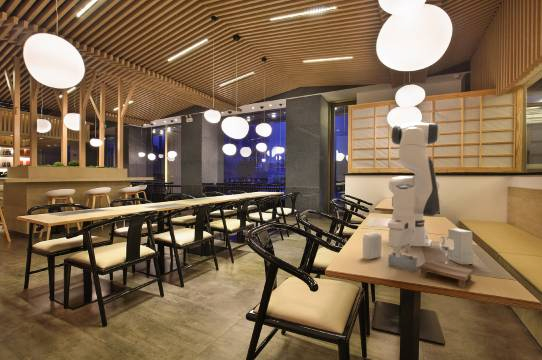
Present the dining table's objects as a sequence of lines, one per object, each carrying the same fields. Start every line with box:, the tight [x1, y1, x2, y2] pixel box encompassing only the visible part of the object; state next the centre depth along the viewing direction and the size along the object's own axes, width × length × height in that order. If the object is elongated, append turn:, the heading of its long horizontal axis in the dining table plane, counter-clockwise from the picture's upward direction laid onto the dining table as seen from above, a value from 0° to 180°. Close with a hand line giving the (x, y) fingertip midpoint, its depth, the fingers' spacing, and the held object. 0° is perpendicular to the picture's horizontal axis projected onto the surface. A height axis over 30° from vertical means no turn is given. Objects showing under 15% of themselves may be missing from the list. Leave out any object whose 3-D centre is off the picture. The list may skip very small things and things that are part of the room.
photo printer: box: [362, 231, 382, 260], centre depth 128 cm, size 10×4×12 cm, turn 123°
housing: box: [387, 251, 418, 273], centre depth 115 cm, size 4×10×6 cm, turn 44°
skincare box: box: [447, 228, 474, 265], centre depth 123 cm, size 8×6×15 cm
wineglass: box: [438, 236, 455, 265], centre depth 119 cm, size 6×6×12 cm
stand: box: [418, 259, 474, 289], centre depth 104 cm, size 12×15×4 cm
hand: (402, 254), depth 115 cm, fingers open, 8 cm apart
